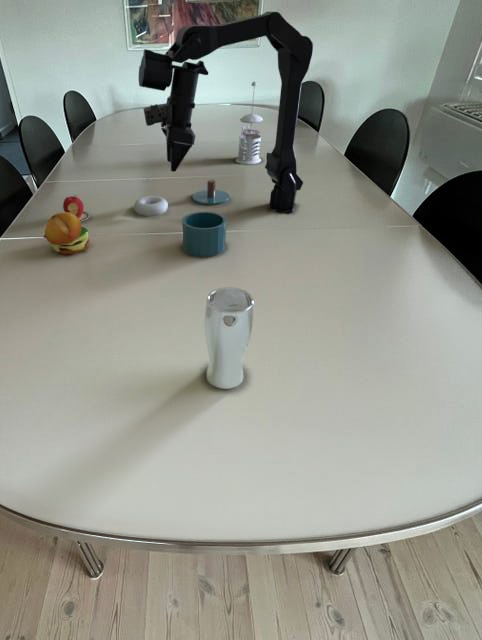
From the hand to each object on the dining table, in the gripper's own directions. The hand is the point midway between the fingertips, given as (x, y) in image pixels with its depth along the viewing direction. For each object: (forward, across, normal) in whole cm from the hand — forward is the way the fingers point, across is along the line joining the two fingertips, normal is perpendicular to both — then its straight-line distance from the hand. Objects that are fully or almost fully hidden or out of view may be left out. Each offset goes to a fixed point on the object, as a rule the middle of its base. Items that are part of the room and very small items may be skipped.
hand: (171, 166), depth 103 cm
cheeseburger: (+21, +10, -24) cm, 33 cm away
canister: (+14, +16, +9) cm, 23 cm away
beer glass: (+16, +62, +5) cm, 64 cm away
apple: (+20, -9, -24) cm, 32 cm away
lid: (+11, -16, +16) cm, 25 cm away
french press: (+6, -52, +36) cm, 64 cm away
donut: (+16, -10, -2) cm, 19 cm away
